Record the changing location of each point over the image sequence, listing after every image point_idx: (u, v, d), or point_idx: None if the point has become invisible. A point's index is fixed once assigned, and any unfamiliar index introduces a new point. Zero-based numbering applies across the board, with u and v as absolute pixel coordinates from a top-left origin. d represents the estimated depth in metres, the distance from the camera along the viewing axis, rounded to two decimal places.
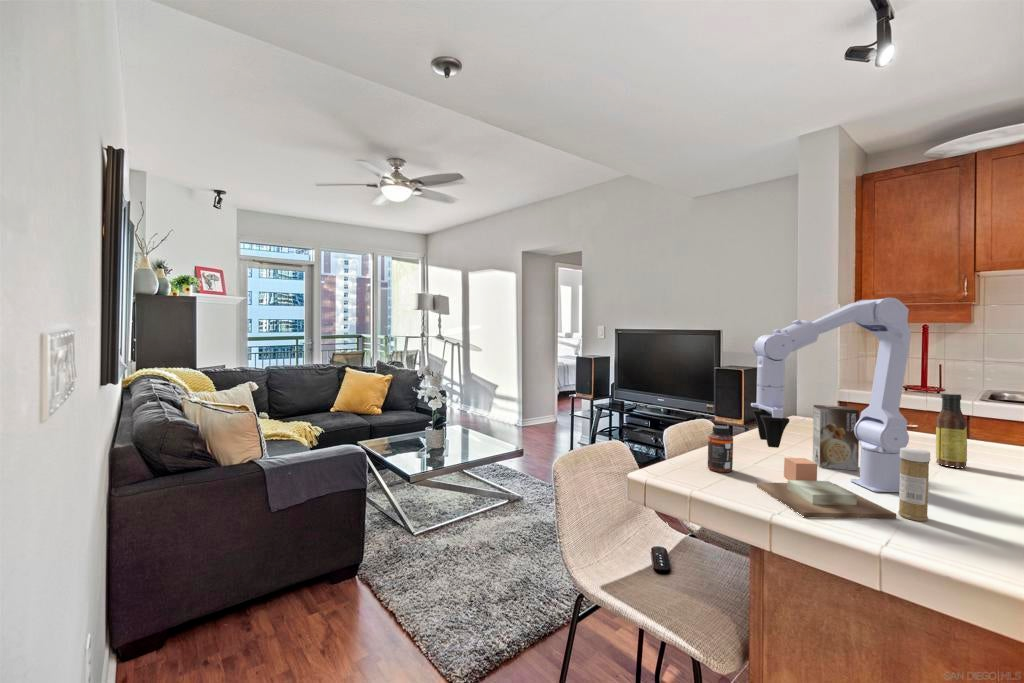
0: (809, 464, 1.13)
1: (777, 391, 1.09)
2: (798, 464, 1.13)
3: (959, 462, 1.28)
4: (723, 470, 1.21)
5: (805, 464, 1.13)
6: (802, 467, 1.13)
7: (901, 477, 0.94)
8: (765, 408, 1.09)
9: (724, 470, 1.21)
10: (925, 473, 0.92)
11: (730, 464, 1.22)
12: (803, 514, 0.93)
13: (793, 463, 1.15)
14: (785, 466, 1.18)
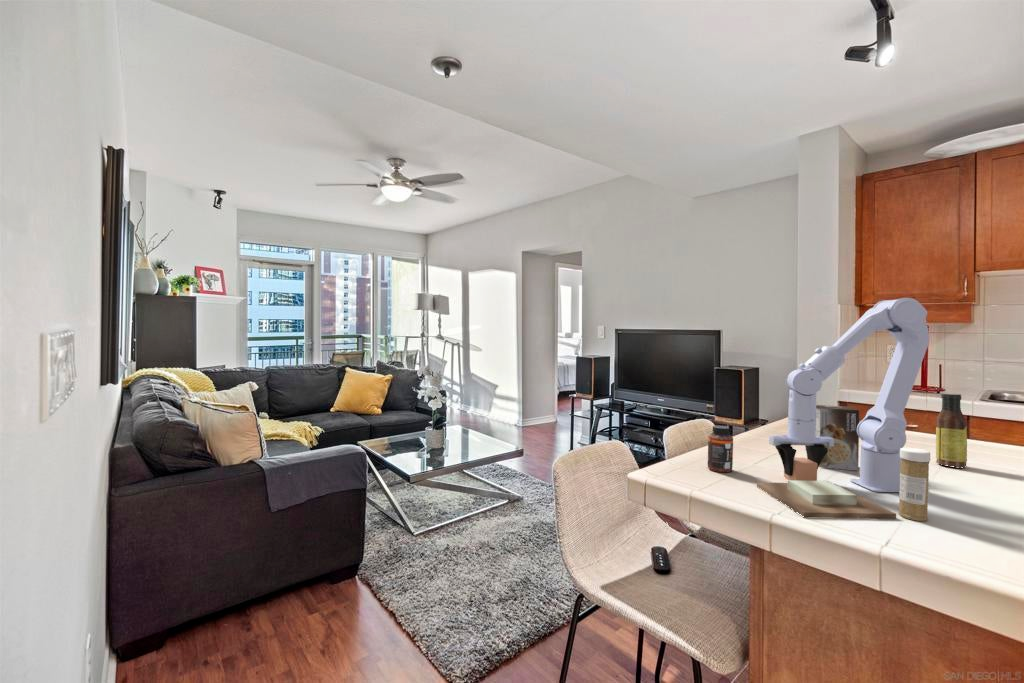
0: (809, 464, 1.13)
1: (792, 423, 1.15)
2: (798, 464, 1.13)
3: (959, 462, 1.28)
4: (723, 470, 1.21)
5: (805, 464, 1.13)
6: (802, 467, 1.13)
7: (901, 477, 0.94)
8: None
9: (724, 470, 1.21)
10: (925, 473, 0.92)
11: (730, 464, 1.22)
12: (803, 514, 0.93)
13: (793, 463, 1.15)
14: None
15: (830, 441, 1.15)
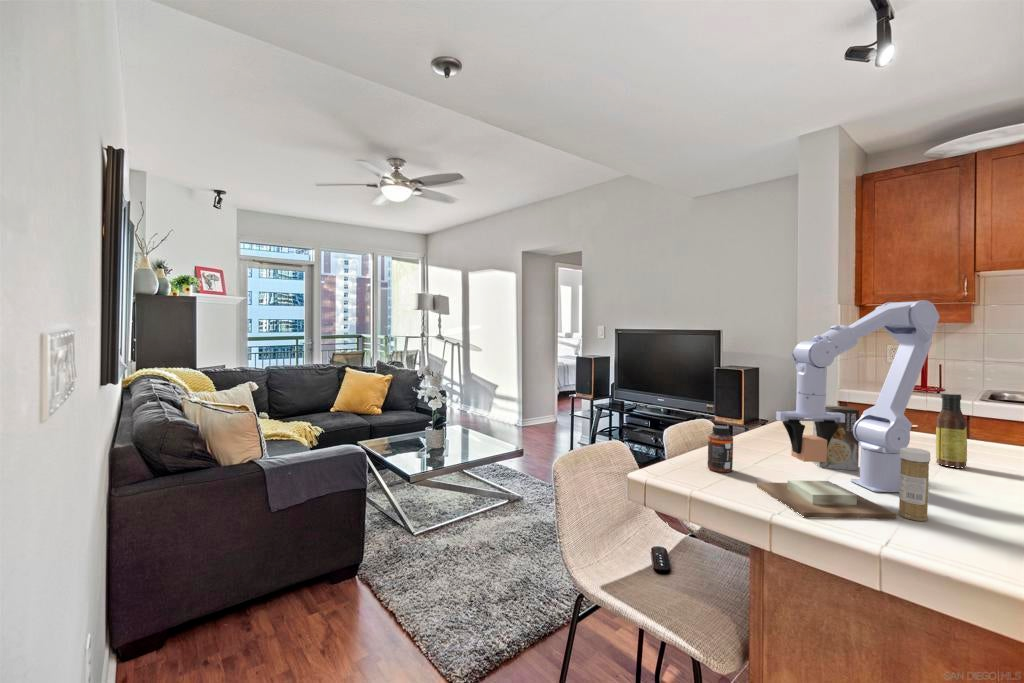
0: (818, 440, 1.07)
1: (801, 398, 1.08)
2: (807, 440, 1.07)
3: (959, 462, 1.28)
4: (723, 470, 1.21)
5: (814, 440, 1.07)
6: (811, 443, 1.07)
7: (901, 477, 0.94)
8: None
9: (724, 470, 1.21)
10: (925, 473, 0.92)
11: (730, 464, 1.22)
12: (803, 514, 0.93)
13: None
14: None
15: (841, 416, 1.08)
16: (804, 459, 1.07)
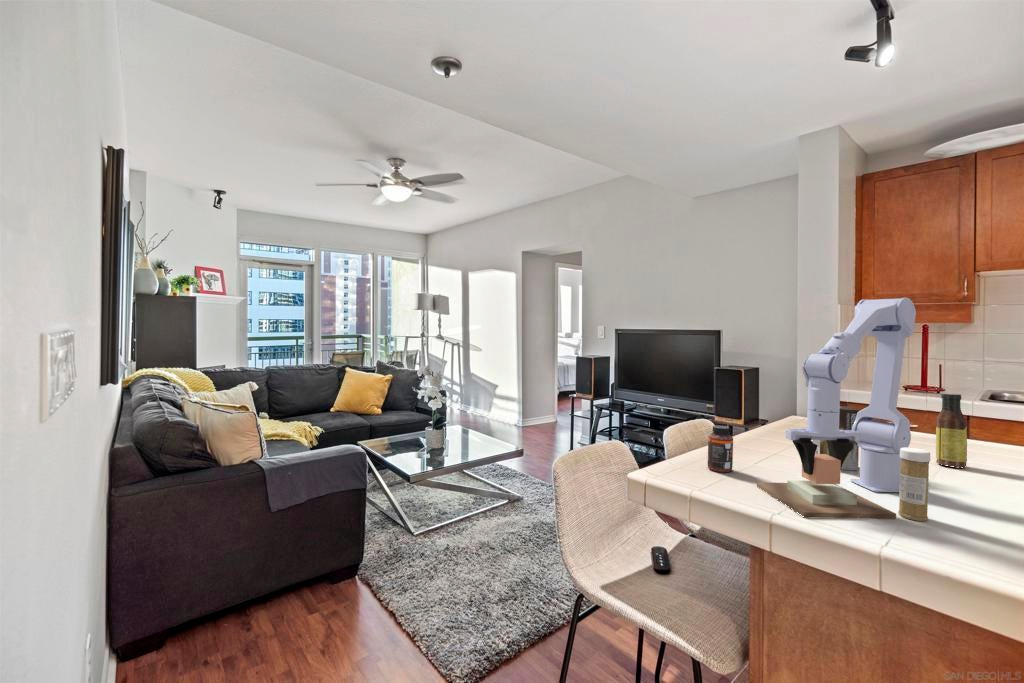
0: (831, 461, 0.99)
1: (813, 415, 1.01)
2: (819, 461, 0.99)
3: (959, 462, 1.28)
4: (723, 470, 1.21)
5: (827, 461, 0.99)
6: (823, 464, 0.99)
7: (901, 477, 0.94)
8: None
9: (724, 470, 1.21)
10: (925, 473, 0.92)
11: (730, 464, 1.22)
12: (803, 514, 0.93)
13: None
14: None
15: (855, 435, 1.00)
16: (816, 481, 1.00)
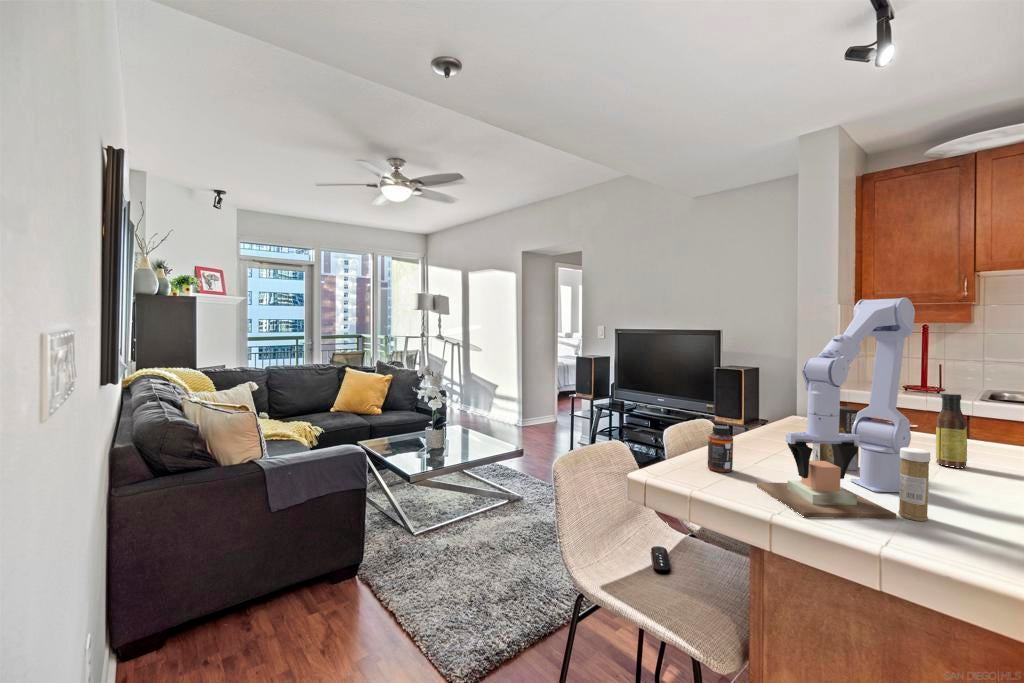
0: (831, 468, 0.99)
1: (812, 418, 1.01)
2: (819, 468, 0.99)
3: (959, 462, 1.28)
4: (723, 470, 1.21)
5: (827, 468, 0.99)
6: (823, 471, 0.99)
7: (901, 477, 0.94)
8: None
9: (724, 470, 1.21)
10: (925, 473, 0.92)
11: (730, 464, 1.22)
12: (803, 514, 0.93)
13: (813, 467, 1.01)
14: None
15: (855, 438, 1.00)
16: (816, 488, 1.00)
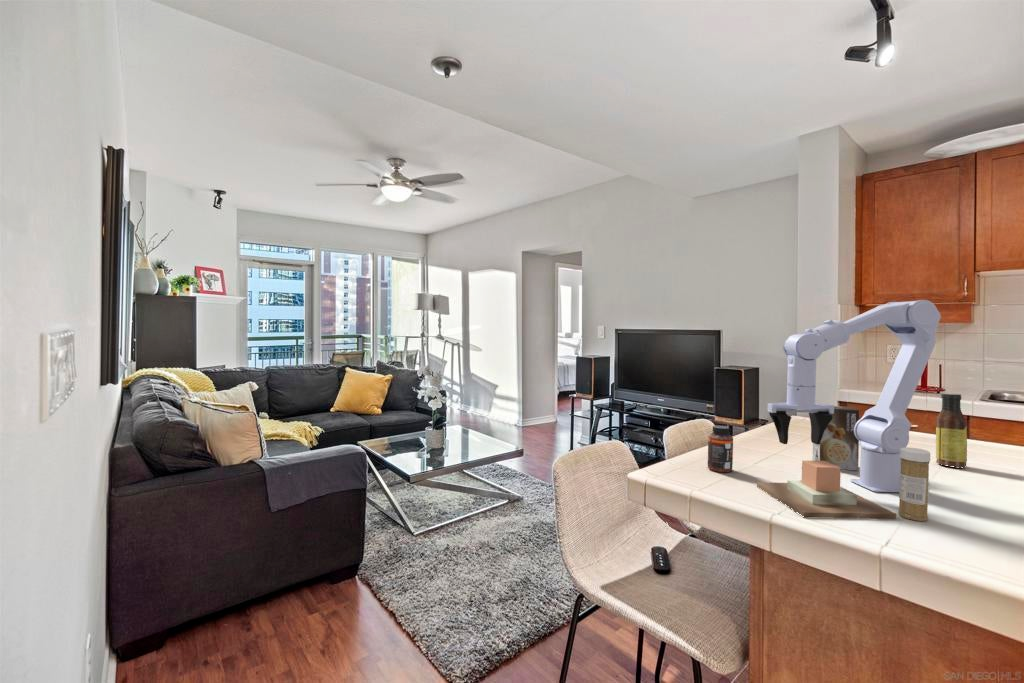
0: (831, 468, 0.99)
1: (791, 389, 1.11)
2: (819, 468, 0.99)
3: (959, 462, 1.28)
4: (723, 470, 1.21)
5: (827, 468, 0.99)
6: (823, 471, 0.99)
7: (901, 477, 0.94)
8: None
9: (724, 470, 1.21)
10: (925, 473, 0.92)
11: (730, 464, 1.22)
12: (803, 514, 0.93)
13: (813, 467, 1.01)
14: (803, 470, 1.04)
15: (830, 407, 1.11)
16: (816, 488, 1.00)
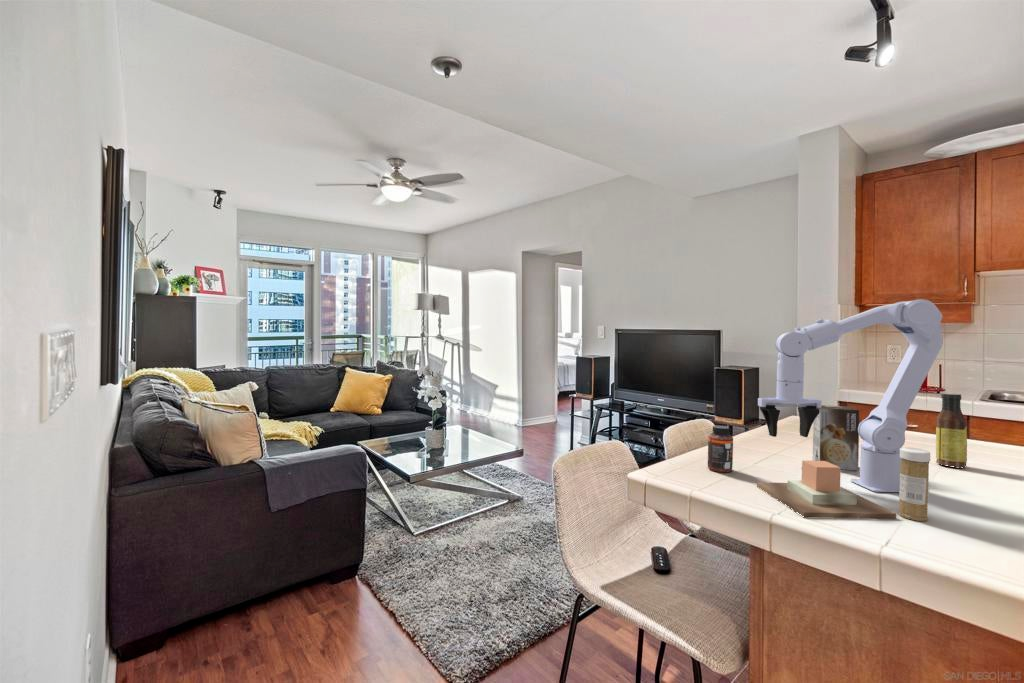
0: (831, 468, 0.99)
1: (780, 385, 1.16)
2: (819, 468, 0.99)
3: (959, 462, 1.28)
4: (723, 470, 1.21)
5: (827, 468, 0.99)
6: (823, 471, 0.99)
7: (901, 477, 0.94)
8: None
9: (724, 470, 1.21)
10: (925, 473, 0.92)
11: (730, 464, 1.22)
12: (803, 514, 0.93)
13: (813, 467, 1.01)
14: (803, 470, 1.04)
15: (817, 402, 1.16)
16: (816, 488, 1.00)
